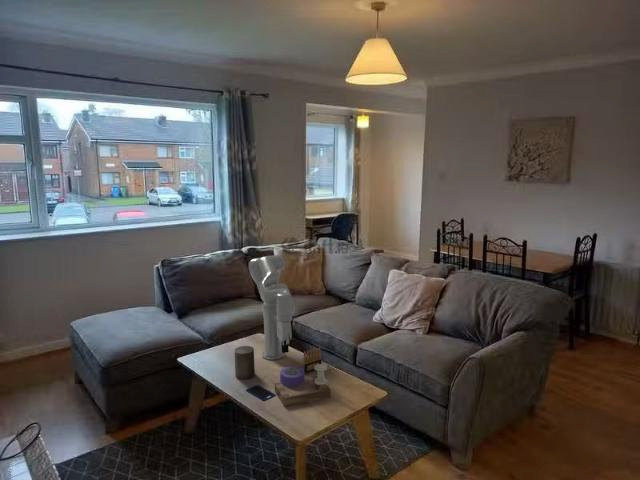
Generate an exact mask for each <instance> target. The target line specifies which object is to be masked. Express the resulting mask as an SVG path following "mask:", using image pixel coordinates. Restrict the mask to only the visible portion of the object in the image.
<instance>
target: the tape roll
mask: <svg viewBox="0 0 640 480" xmlns="http://www.w3.org/2000/svg"><path fill="white" fill-rule="evenodd" d="M304 382H305V374H304V370H303V367H302V368H301V367H299V366H286V367H283V368H281V370H280V371H279V383H281V384H282V385H283V386H284V385H285V386H284V387H288V386H289V387H291V386H295V387H298V386H301V385H303V384H304ZM291 388H292V387H291Z"/></svg>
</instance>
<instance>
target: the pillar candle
mask: <svg viewBox="0 0 640 480" xmlns="http://www.w3.org/2000/svg"><path fill="white" fill-rule="evenodd" d="M233 351H234V370H235V372H234V373H235V374H234V375H235V378H237V379H238V380H250V379H252V378H254V377H255V375H256V373H255V371H256V370H255V349H254V347H253V346H249V345H241V346H238V347H235V349H234V350H233Z"/></svg>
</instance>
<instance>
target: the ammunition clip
mask: <svg viewBox="0 0 640 480" xmlns="http://www.w3.org/2000/svg"><path fill="white" fill-rule="evenodd" d="M317 364H322V355H321V347H320V346H318V348H317V347H315V348H312V349H311V348H310V349H309V350H308V349H307V350H304V352H303V359H302V369H303V370H304V375H305V374H309V373H312V372H315V369H314V367H315V365H317Z"/></svg>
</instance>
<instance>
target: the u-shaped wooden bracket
mask: <svg viewBox="0 0 640 480" xmlns="http://www.w3.org/2000/svg"><path fill="white" fill-rule="evenodd" d="M316 378H317V375H314V376H313V375H312V385H313V386H314V388H315V389H316V390H311V391H308V392H302V393H298V394H293V395H290V394H289V392H288V391H287V389H286V388H285V386H284V385H282V384H281V383H280V382H277V383H274V394H275V395H276V396H277V398H278V399H279V401H280V402H281V405H282V406H283V407H285V408H286V407H290V406H294V405H295V406H296V405H300V404H304V403H308V402H313V401H318V400H324V399H327V398H331V388H330V387H329V385H328V384H325V385H317V384H315V382H314V380H315V379H316Z"/></svg>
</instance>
